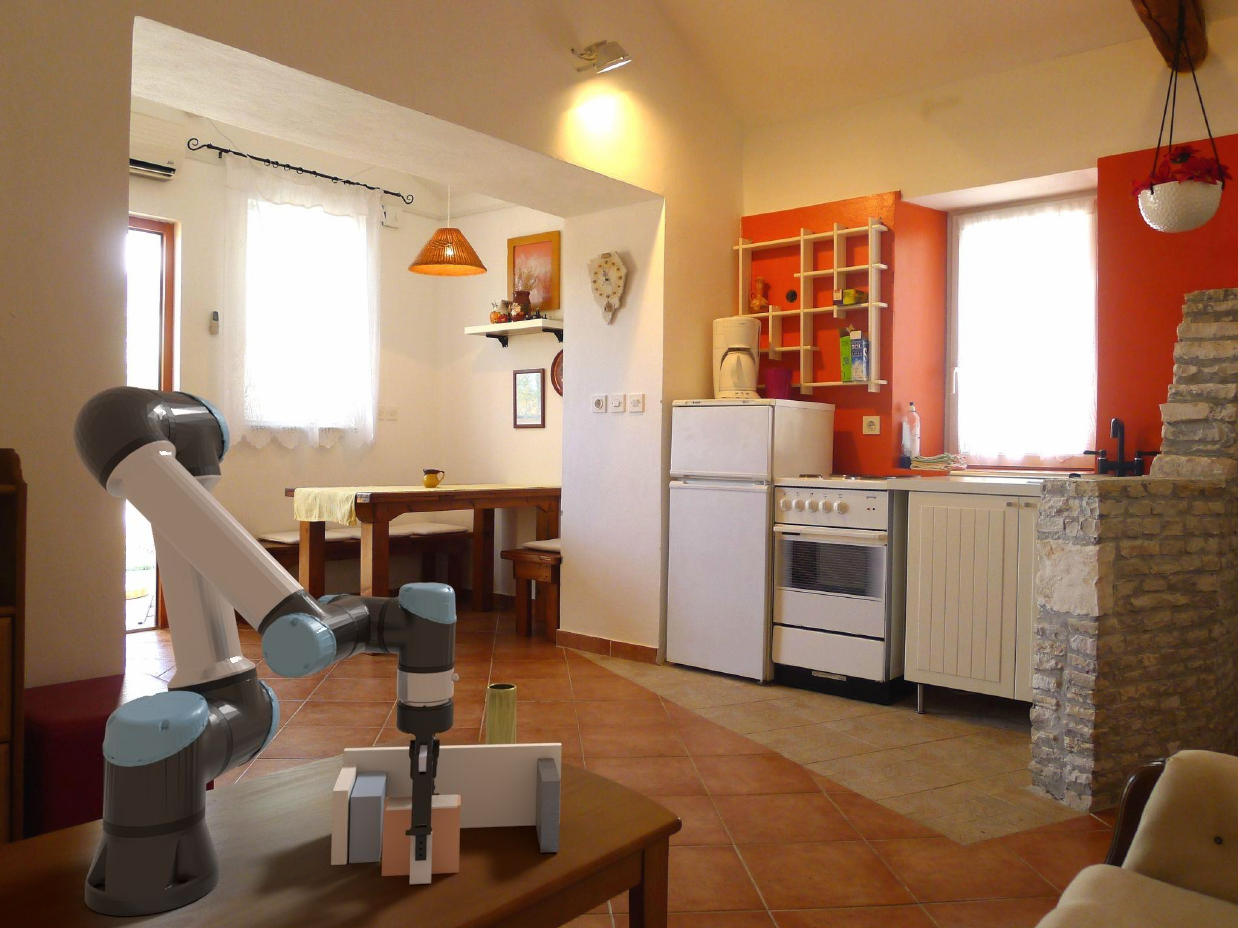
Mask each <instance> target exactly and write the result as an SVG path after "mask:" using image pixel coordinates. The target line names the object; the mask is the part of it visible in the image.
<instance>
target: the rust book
mask: <svg viewBox="0 0 1238 928" xmlns="http://www.w3.org/2000/svg"><path fill="white" fill-rule="evenodd" d="M460 797H461V795H432V813H431V827H432V865H431V875H433V874H434V875H435V874H453V873H454V874H455V873H456V874H457V873H459V872H460V842H461V841H460V838H461V837H460V833H461V828H460ZM411 813H412V796H402V797H386V799H385V803H384V808H383V845H382V852H381V858H382V859H381V860H382V861H381V877H388V876H389V877H390V876H410V841H411V835H405V831H406V830H410V829H411Z"/></svg>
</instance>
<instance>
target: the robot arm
mask: <svg viewBox="0 0 1238 928" xmlns="http://www.w3.org/2000/svg"><path fill="white" fill-rule="evenodd" d="M72 429H73V430H72V434H73V436H72V437H73V443H74V446H75V450H76V452H77V454H78V458H79V459H80V462H82V464H83V466H84V467H85V469H86V470H87V472H89V474H90V475H91V476H92V477H93V478H94V479H95V480H96V482H97V483H98V484H99V485H100V486H101V487H102V488H103V489H104V490H105V491H106V492H107V493H108V495H110V496H112V497H114V498H119V499H120V498H121V499H123V498H125V499H126V500H127V501H128V503H130V504H131V505H132V506H133V507H134V508H135V509H136V510H137V511H138V512H139V513H140V514H141V515H142V516H143V517H144V518H145V519H146V520H147V521H148V522H149V523H150V528H151V532H152V538H153V545H154V549H155V550H154V551H155V555H156V561H157V566H158V572H159V577H160V584H161V589H162V595H163V600H164V601H163V602H164V606H165V611H166V612H165V613H166V618H167V622H168V628H169V635H170V640H171V645H172V651H173V656H174V662H175V667H176V670H175V673H174V675H173V676H172V678H170V680H169V681H168V683H167V684H166V686H167V691H161V692H156V693H155V694H153V695H144V696H143V695H142V696H141V697H137V698H135V699H134V698H133V699H131V700H129V701H127V702H126V703H123V704H122V705H120V706H119V707H117V708H116V709H115V710H114V711H112V712H111V714H110V715H109V717H108V719H107V721H106V724H105V733H104V739H103V742H102V754H103V779H102V780H103V785H102V788H103V789H102V790H103V791H102V796H103V797H102V833H101V837H100V840H99V842H98V845H97V847H96V850H95V854H94V856H93V859H92V861H91V865H90V867H89V869H88V873H87V875H86V877H85V881H84V904H86V906H87V907H88V908H89V909H91V911H94V912H96V913H99V914H104V915H110V916H117V917H118V916H120V917H125V916H126V917H129V916H130V917H131V916H143V915H150V914H157V913H160V912H161V913H162V912H166V911H170V910H173V909H177V908H179V907H182V906H186V905H188V904H190V903H192V902H195V901H197V900H199V899H201V898H202V897H204V896H205V895H208V893H209V892H211V891H212V890H213V889H214V888H215V887H216V885H217V884H218V882H219V877H220V875H219V874H220V873H219V872H220V860H219V857H218V854H217V851H216V848H215V845H214V841H213V839H212V836H211V833H210V831H209V827H208V824H207V821H206V820H207V819H206V807H207V806H206V804H207V802H206V801H207V784H208V783H210V782H212V781H214V780H215V779H217V778H219V777H220V776H222V775H225V774H226V773H228V772H230V771H231V770H234V769H235V768H238V767H241V766H244V765H245V764H247V763H249V762H250V761H252V760H253V759H254V758H255V757H257V756H258V755H259V754H261V752H263V751H264V750H265V749H267V747H268V746H269V745H270V744H271V743H272V741H273V739H274V737H275V735H276V734H277V730H278V728H279V724H280V717H281V716H280V715H281V713H280V712H281V711H280V705H279V701H278V700H279V699H278V698H277V695H276V693H275V691H274V690H273V688H272V687H270V686H268V685H267V684H266V681H264V680H262V679H260V678H259V676H258V671H257V667H256V666H257V665H256V663H255V662H253V661H251V660H250V659H248V658H246V656H245V657H244V655H243V653H242V647H241V643H240V638H239V637H240V636H239V631H238V625H237V621H236V614H235V611H237V613H238V614H239V615H240V616H242V618H243V619H244V620H245V621H246V622H247V623H248V624H249V625H250V626H251V627H252V628H253V629H254V630H255V631H256V632H257V633H258V634H259V636H260V637H261V638H262V640H261V653H262V655H263V658H264V662H265V665H267V667H268V668H269V669H270V670H271V671H272V672H273V673H274V674H276V675H277V676H281V677H283V678H286V679H287V678H288V679H298V678H302V677H306V676H309V675H310V676H311V675H315V674H318V673H320V672H322V671H323V670H324V669H327V668H328V667H330V666H332V665H335V664H337V663H338V662H342V661H344V660H347V659H349V658H351V657H354V656H356V655H358V654H361V653H371V654H372V653H374V654H375V653H376V654H378V653H379V654H389V655H391V654H397V668H396V669H397V670H396V697H397V698H398V699H399V700H398V702H397V703H396V728H397V730H398V731H400V732H401V733H403V734H407V735H410V734H411V735H413V736H415V739H410V740H409V741H410V742H409V746H408V747H409V758H410V760H411V762H410V778H411V779H412V780H413V782H412V813H411V829H410V830H406V831H405V835H411V841H410V875H409V885H420V884H421V885H422V884H432V874H431V865H432V827H431V813H432V795H439V793H434V790H435V785H434V779H435V778H436V776H437V765H438V758H439V750H440V746H441V745H440V744H441V740H440V738H436V734H442V733H445V732H448V731H450V730H451V729H452V728H453V726H454V713H455V711H454V710H455V709H454V708H455V702H454V701H453V699H452V697H453V696H454V693H455V692H454V691H455V687H454V686H455V684H454V682H458V681H459V679H460V676H459V674H458V673H454V672H455V650H456V648H455V647H456V627H457V624H456V623H457V614H456V612H457V610H456V593H455V590H454V588H453V587H452V586H451V585H449V584H445V583H439V582H410V583H406V584H403V585H402V586H401V587H399V588H400V589H399V592H398V595H397V596H396V597H386V596H385V597H381V596H366V595H353V594H352V595H351V594H349V593H342V594H326V595H322V596H321V597H320V598H318V599H316V598H314V596H312V595H311V594H310V592H308V591H307V590H306V588H304V587H303V586H302V585H301V584H300V582H298V581H297V579H295V578H294V577H293V576H292V575H291V574H290V572H288V571H287V570H286V568H285V567H284V566H283V565H281V564H280V562H279V561H278V560H277V559H275V558H274V556H273V555H271V553H269V551H267V550H266V548H265V547H264V546H263V545H262V544H261V543H260V542H259V541H258V540H257V539H256V538H255V537H254V536H252V534H251V533H250V532H249V531H248V530H247V529H246V528H245V527H244V526H243V525H242V524H241V523H240V522H239V521H238V520H237V519H236V518H235V517H234V516H233V515H232V514H231V513H230V512H229V511H228V510H227V509H226V508H225V507H224V506H223V505H222V504H221V503H220V502H219V501H218V500H217V499H216V497H215V496H214V490H215V488H216V487H217V485H218V484H219V483H220V481H221V480H222V478H223V476H222V474H221V473H222V472H221V467H220V464H221V463H222V462H223V461H224V459H225V455H226V453H228V451H229V448H230V443H231V442H230V439H231V438H230V429H229V425H228V423H227V421H226V418H225V417H224V415H223V414H222V413H221V411H220V409H218V407H216V406H215V404H213V403H211V402H210V400H207V399H205V398H203V397H200V396H199V395H198V396H197V395H193V394H191V393H189V392H185V391H179V390H173V391H170V390H168V391H167V390H159V389H151V388H143V387H138V386H130V385H129V386H127V385H125V386H124V385H120V386H113V387H109V388H106V389H104V390H101V391H99V392H97V393H95V394H94V395H92V396H91V397H90V398H89V399H88V400H86V402H85V403H84V404H83V405H82V406H81V408H80V409H79V411H78V412H77V415H76V418H75V420H74V424H73V428H72Z"/></svg>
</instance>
